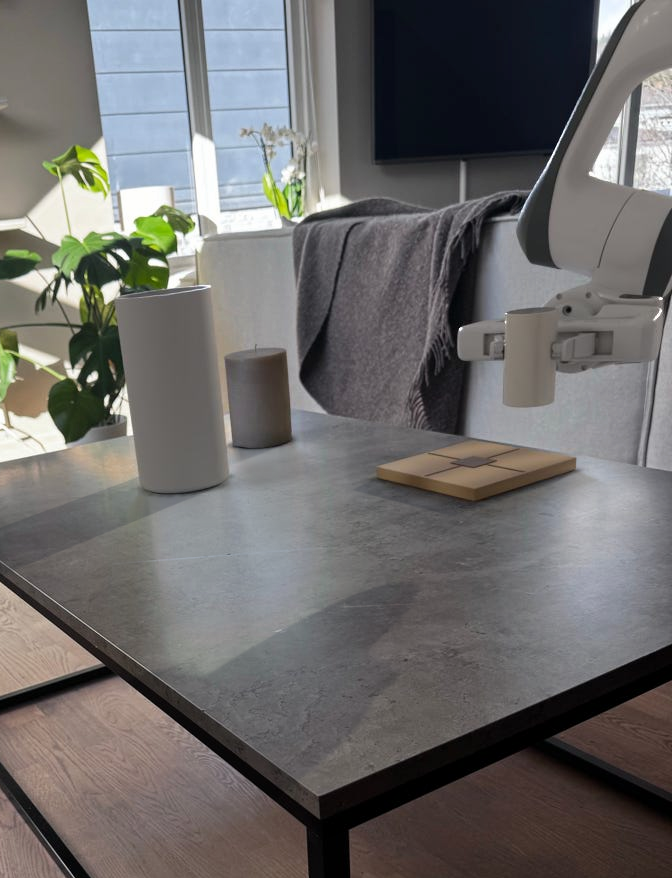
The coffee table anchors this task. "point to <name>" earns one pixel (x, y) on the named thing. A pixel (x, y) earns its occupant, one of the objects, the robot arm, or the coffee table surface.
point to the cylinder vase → (173, 388)
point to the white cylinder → (530, 357)
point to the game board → (475, 469)
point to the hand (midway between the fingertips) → (527, 351)
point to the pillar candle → (259, 397)
